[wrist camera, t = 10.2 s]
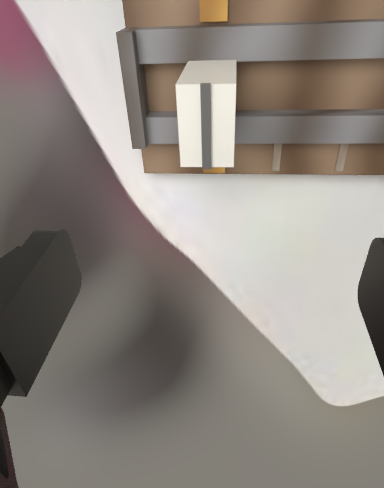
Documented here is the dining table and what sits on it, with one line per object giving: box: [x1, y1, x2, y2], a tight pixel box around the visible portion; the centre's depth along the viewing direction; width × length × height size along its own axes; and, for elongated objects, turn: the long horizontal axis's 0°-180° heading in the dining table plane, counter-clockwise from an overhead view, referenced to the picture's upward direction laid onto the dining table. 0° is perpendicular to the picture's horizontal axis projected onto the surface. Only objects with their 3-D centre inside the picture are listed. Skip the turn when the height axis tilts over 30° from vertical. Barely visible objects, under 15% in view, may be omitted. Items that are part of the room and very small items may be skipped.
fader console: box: [116, 0, 384, 175], centre depth 26 cm, size 26×14×4 cm, turn 92°
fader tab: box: [175, 60, 236, 169], centre depth 23 cm, size 3×4×9 cm, turn 2°
